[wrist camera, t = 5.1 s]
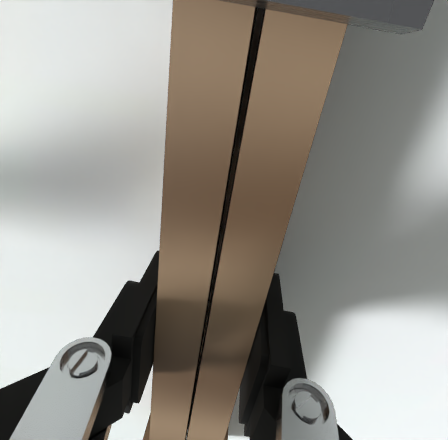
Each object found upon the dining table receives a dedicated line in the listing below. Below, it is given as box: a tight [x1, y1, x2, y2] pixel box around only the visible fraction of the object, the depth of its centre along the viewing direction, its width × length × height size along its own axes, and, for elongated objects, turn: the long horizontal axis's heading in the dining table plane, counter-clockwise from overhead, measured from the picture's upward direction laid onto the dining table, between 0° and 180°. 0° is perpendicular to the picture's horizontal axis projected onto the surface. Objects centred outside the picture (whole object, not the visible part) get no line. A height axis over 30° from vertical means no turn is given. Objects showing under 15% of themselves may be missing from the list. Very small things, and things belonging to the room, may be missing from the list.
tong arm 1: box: [186, 9, 348, 440], centre depth 11 cm, size 22×2×4 cm, turn 171°
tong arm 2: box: [143, 0, 257, 440], centre depth 11 cm, size 22×2×4 cm, turn 171°
